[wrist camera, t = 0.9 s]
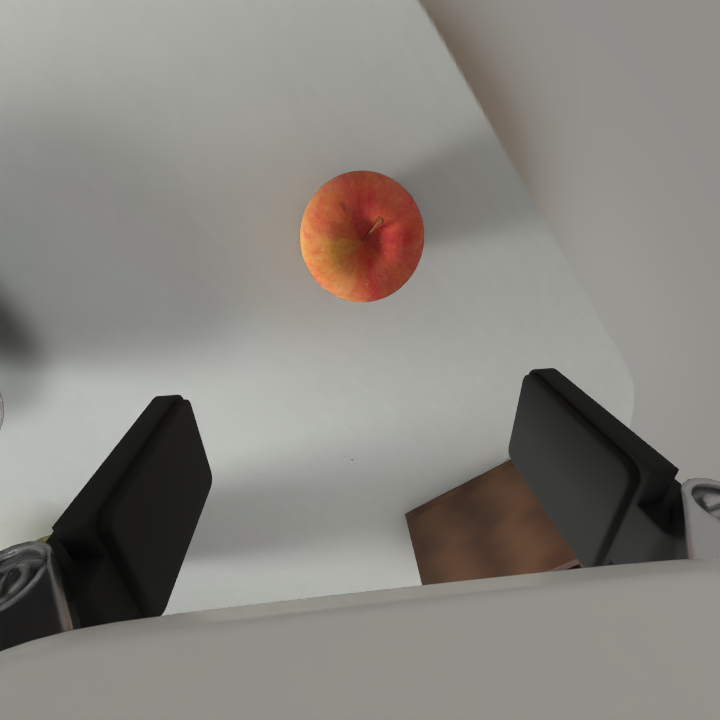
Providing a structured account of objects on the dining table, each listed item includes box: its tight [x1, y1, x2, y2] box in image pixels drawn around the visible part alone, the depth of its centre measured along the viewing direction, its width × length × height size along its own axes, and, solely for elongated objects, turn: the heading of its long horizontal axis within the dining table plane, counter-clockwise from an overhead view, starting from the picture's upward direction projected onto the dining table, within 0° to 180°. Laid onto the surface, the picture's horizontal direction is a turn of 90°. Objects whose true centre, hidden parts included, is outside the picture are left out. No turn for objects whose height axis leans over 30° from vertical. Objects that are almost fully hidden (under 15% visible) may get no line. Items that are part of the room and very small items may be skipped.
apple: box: [300, 171, 424, 302], centre depth 21 cm, size 7×7×8 cm
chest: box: [405, 460, 585, 585], centre depth 35 cm, size 14×11×11 cm
